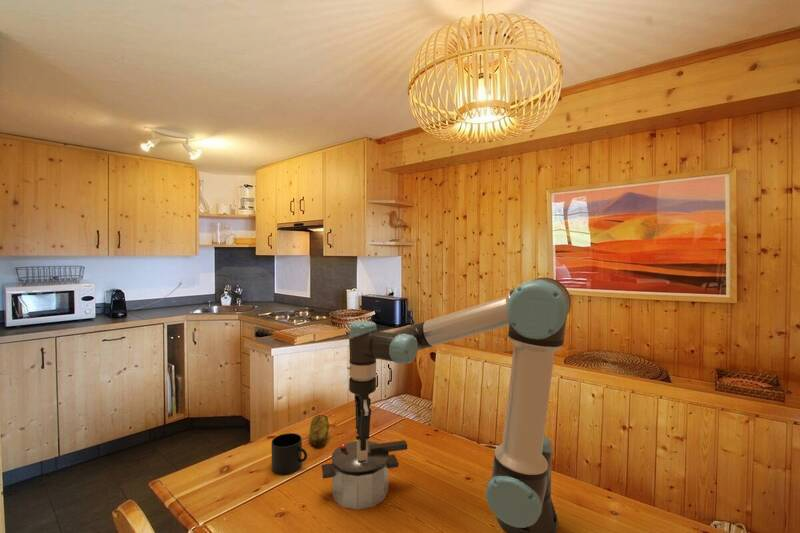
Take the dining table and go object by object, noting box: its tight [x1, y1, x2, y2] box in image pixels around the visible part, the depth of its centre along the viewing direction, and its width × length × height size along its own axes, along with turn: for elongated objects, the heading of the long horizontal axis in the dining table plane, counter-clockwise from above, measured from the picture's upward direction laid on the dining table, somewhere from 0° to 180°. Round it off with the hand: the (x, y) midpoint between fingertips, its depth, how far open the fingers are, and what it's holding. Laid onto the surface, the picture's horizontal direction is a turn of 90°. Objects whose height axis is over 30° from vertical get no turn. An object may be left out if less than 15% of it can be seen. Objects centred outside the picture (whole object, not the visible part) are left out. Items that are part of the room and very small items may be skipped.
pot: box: [321, 454, 399, 511], centre depth 112 cm, size 17×22×9 cm
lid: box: [331, 439, 408, 472], centre depth 111 cm, size 17×22×3 cm
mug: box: [271, 432, 308, 476], centre depth 123 cm, size 9×12×9 cm
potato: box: [309, 414, 330, 448], centre depth 141 cm, size 8×13×8 cm, turn 172°
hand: (362, 458), depth 107 cm, fingers closed
